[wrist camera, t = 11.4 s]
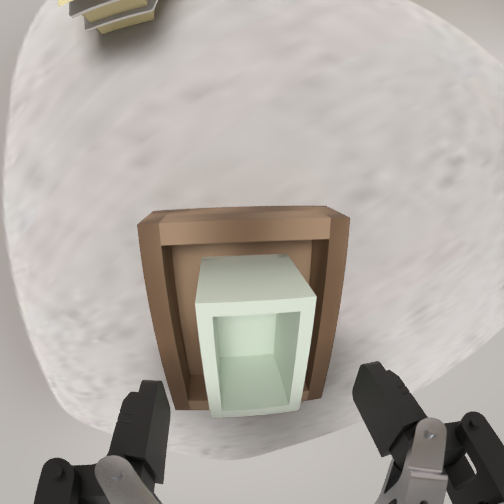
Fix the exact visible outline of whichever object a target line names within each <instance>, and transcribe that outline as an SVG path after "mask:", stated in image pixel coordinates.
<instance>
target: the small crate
mask: <svg viewBox="0 0 504 504" xmlns="http://www.w3.org/2000/svg"><path fill="white" fill-rule="evenodd" d="M316 298H317V296H316V295H315V293H314V292H313V290H312V289H311V288H310V286H309V285H308V283H307V282H306V280H305V279H304V277H303V276H302V274H301V273H300V272H299V270H298V269H297V267H296V266H295V264H294V263H293V262H292V260H291V259H290V257H289V256H288V254H270V255H244V256H217V257H202V259H201V266H200V272H199V279H198V286H197V293H196V300H195V308H196V318H197V326H198V334H199V342H200V350H201V357H202V364H203V371H204V378H205V385H206V391H207V397H208V403H209V409H210V414H211V418H228V417H245V416H257V415H267V414H276V413H284V412H291V411H298V410H299V408H300V403H301V398H302V392H303V387H304V381H305V375H306V370H307V363H308V357H309V351H310V344H311V337H312V330H313V323H314V315H315V307H316Z"/></svg>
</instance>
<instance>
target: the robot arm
mask: <svg viewBox="0 0 504 504" xmlns="http://www.w3.org/2000/svg"><path fill="white" fill-rule="evenodd" d="M352 394H353V400H354V402H355V404H356V406H357V408H358V410H359V412H360V414H361V416H362V418H363V420H364V422H365V424H366V426H367V428H368V430H369V432H370V434H371V436H372V438H373V440H374V442H375V444H376V446H377V448H378V450H379V453H380V455H381V457H384V456H387V455H389V454H391V455H392V457H393V459H392V460H391V463H390V466H389V470H388V473H387V476H386V479H385V482H384V485H383V488H382V491H381V493H380V495H379V497H378V499H377V501H376V502H375V504H443V503H444V498H445V493H446V490H447V492H448V495H449V497H450V499H451V501H452V504H504V445H503V444H502V442H501V441H500V439H499V438H498V436H497V435H496V433H495V432H494V430H493V429H492V427H491V426H490V424H489V423H488V422H487V420H486V419H485V417H484V416H483V415H482V414H480V413H478V412H469V413H466V414H465V415H464V417H463V418H462V419H461V421H458V422H452V423H445V424H443V422H441V421H440V420H438V419H435V418H428V417H427V416H426V414H425V413H424V412H423V410H422V409H421V407H420V406H419V405H418V403H417V401H416V400H415V398H414V397H413V396H412V394H411V393H409V390H408V388H407V387H406V386H405V384H404V383H403V381H402V380H401V379H400V377H399V376H398V375H396V374H395V373H393V372H392V371H390V370H388V371H386V370H385V369H384V367H383V366H382V364H381V363H380V362H378V361H376V362H371V363H367V364H362V365H361V366H360V368H359V371H358V374H357V377H356V381H355V384H354V387H353V391H352ZM169 424H170V406H169V402H168V399H167V396H166V393H165V389H164V386H163V383H162V381H152V380H143V381H142V382H141V385H140V389H139V392H130V393H129V394H128V396H127V397H126V398H125V399H124V400H123V403H122V406H121V409H120V413H119V416H118V422H117V423H116V427H115V430H114V434H113V437H112V441H111V445H110V449H109V452H108V454H107V456H106V457H104V458H102V459H100V460H99V461H98V463H96V464H92V465H76V466H72V465H70V463H69V462H67V461H66V460H64V459H61V458H53V459H50V460H48V461H47V462H46V463H45V464H44V466H43V468H42V472H41V475H40V479H39V483H38V487H37V491H36V495H35V500H34V504H162V502H161V501H160V500H159V499H158V497H157V496H156V495H155V493H154V486H155V483H159V484H163V481H164V469H165V458H166V450H167V441H168V432H169ZM466 453H467V454H468V455H469V457H470V459H471V461H472V462H473V464H474V466H475V468H476V471H477V473H476V475H475V473H474V471H473V469H472V467H471V466H470V464H469V462H468V460H467V458H466V457H465V454H466Z"/></svg>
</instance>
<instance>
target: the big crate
mask: <svg viewBox="0 0 504 504" xmlns="http://www.w3.org/2000/svg"><path fill="white" fill-rule="evenodd" d="M349 225H350V218H349V217H347V216H345V215H343V214H341V213H339V212H337V211H335V210H333V209H331V208H329V207H327V206H255V207H222V208H198V209H179V210H162V211H153V212H152V213H151V214H149V215H148V216H147V217H146V218H145V219H143V220H142V221H141V222H140V223H139V224H137V227H138V236H139V244H140V252H141V259H142V266H143V273H144V279H145V285H146V291H147V296H148V302H149V307H150V312H151V317H152V322H153V327H154V331H155V336H156V340H157V344H158V348H159V353H160V357H161V361H162V364H163V368H164V372H165V376H166V379H167V383H168V386H169V390H170V393H171V396H172V400H173V403H174V406H175V409H176V410H210V409H209V403H208V397H207V391H206V385H205V378H204V371H203V364H202V357H201V350H200V342H199V334H198V326H197V318H196V308H195V300H196V293H197V286H198V279H199V272H200V266H201V259H202V257H217V256H244V255H270V254H288V256H289V257H290V259H291V260H292V262H293V263H294V264H295V266H296V267H297V269H298V270H299V272H300V273H301V274H302V276H303V277H304V279H305V280H306V282H307V283H308V285H309V286H310V288H311V289H312V290H313V292H314V293H315V295H316V296H317V298H316V307H315V315H314V323H313V330H312V337H311V344H310V351H309V357H308V363H307V370H306V375H305V381H304V387H303V392H302V398H301V401H307V400H313V399H319V398H321V397H322V393H323V388H324V384H325V380H326V376H327V371H328V367H329V362H330V357H331V352H332V347H333V342H334V337H335V331H336V326H337V320H338V314H339V308H340V302H341V295H342V288H343V281H344V273H345V265H346V256H347V247H348V237H349Z"/></svg>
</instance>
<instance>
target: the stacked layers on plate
mask: <svg viewBox="0 0 504 504" xmlns="http://www.w3.org/2000/svg"><path fill="white" fill-rule="evenodd" d="M68 2H69V15H70V16H71V17H72V18H74V17H76V16H79V15H81V14H82V15H83V16H84V21H85V29H86V30H87V31H90V30H93V29H95V28H96V29H97V30H98V31H100V32H101V33H102V34H105V33H108V32H111V31H114V30H117V29H120V28H124V27H127V26H131V25H135V24H138V23H142V22H147V21H151V20H154V9H155V7H156V4H157V2H158V0H58V6H62V5H64V4H66V3H68Z"/></svg>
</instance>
